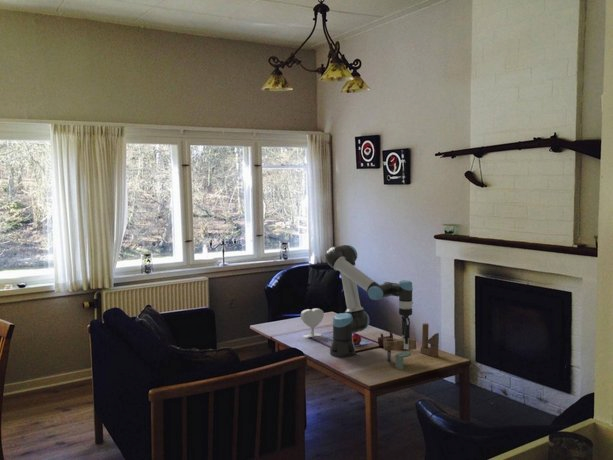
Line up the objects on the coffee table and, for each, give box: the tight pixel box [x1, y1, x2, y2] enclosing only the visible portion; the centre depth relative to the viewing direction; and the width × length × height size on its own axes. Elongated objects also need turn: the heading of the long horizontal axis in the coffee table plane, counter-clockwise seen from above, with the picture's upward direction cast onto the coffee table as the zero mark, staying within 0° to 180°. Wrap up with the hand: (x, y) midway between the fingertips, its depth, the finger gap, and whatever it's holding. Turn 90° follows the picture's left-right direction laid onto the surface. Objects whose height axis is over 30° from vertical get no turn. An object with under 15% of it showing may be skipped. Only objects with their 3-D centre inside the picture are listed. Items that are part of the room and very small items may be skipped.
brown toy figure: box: [377, 331, 394, 347], centre depth 337 cm, size 6×17×10 cm, turn 76°
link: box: [382, 337, 417, 352], centre depth 310 cm, size 18×7×5 cm, turn 90°
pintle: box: [386, 351, 392, 363], centre depth 311 cm, size 2×2×7 cm
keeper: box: [394, 351, 412, 370], centre depth 301 cm, size 4×8×8 cm, turn 125°
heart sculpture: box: [300, 307, 325, 339], centre depth 361 cm, size 16×5×18 cm, turn 116°
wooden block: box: [420, 322, 440, 358], centre depth 323 cm, size 4×11×18 cm, turn 39°
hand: (405, 347), depth 310 cm, fingers closed on link, 4 cm apart
